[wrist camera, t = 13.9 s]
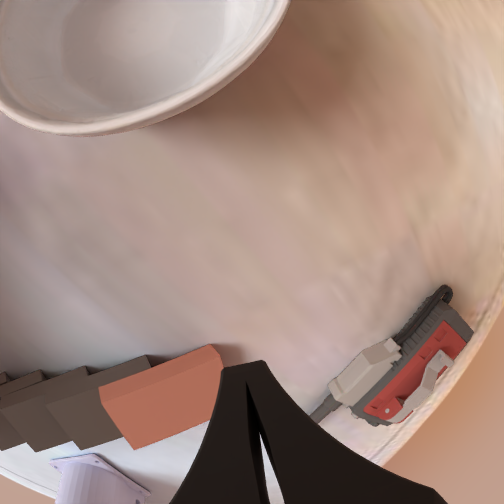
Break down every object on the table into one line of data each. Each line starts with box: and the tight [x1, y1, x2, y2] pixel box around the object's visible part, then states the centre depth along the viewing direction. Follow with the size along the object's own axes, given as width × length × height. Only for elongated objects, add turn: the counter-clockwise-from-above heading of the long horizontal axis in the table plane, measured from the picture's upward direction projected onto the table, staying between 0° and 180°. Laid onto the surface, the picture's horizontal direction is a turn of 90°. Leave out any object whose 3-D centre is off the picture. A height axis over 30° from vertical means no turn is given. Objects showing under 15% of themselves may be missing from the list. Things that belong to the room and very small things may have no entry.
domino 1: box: [0, 370, 46, 451], centre depth 17 cm, size 2×5×8 cm
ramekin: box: [0, 0, 291, 137], centre depth 10 cm, size 13×13×7 cm
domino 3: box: [45, 355, 151, 450], centre depth 18 cm, size 2×5×8 cm
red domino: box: [98, 344, 224, 450], centre depth 18 cm, size 2×5×8 cm
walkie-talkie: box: [309, 285, 474, 427], centre depth 22 cm, size 9×4×20 cm
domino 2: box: [0, 366, 90, 452], centre depth 17 cm, size 2×5×8 cm
